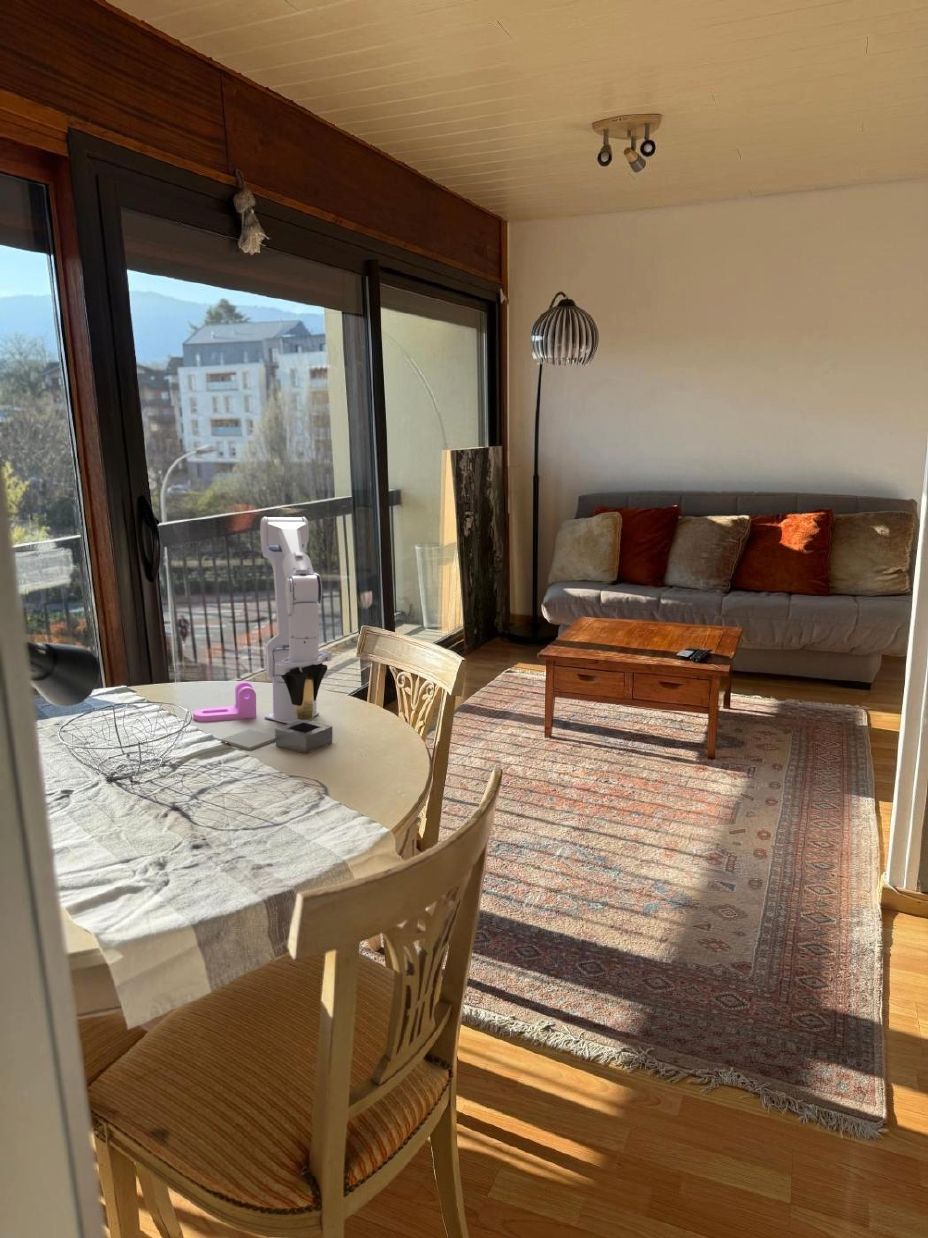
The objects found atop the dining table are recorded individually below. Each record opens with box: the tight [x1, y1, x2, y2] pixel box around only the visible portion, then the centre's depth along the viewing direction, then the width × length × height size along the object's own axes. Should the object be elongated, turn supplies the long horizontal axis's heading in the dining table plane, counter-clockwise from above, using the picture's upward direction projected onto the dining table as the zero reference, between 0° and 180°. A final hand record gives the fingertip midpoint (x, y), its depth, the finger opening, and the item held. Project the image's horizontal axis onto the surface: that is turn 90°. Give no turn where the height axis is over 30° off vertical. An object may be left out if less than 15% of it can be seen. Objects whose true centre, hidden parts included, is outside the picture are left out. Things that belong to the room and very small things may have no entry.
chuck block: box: [274, 719, 333, 755], centre depth 175 cm, size 8×8×4 cm
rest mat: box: [220, 728, 275, 751], centre depth 176 cm, size 8×8×1 cm
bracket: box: [192, 680, 257, 723], centre depth 190 cm, size 13×6×7 cm, turn 112°
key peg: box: [295, 676, 315, 720], centre depth 173 cm, size 4×4×8 cm
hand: (304, 702), depth 173 cm, fingers closed on key peg, 4 cm apart
